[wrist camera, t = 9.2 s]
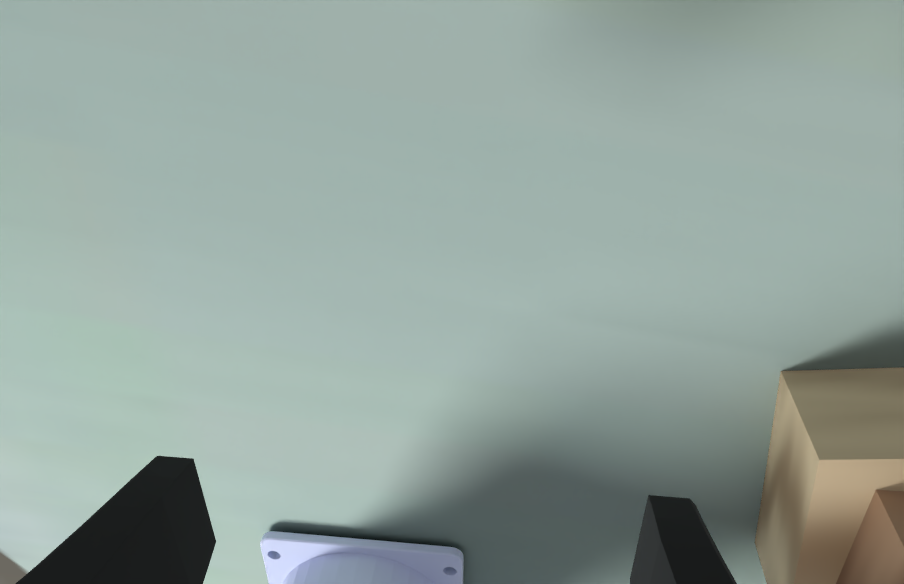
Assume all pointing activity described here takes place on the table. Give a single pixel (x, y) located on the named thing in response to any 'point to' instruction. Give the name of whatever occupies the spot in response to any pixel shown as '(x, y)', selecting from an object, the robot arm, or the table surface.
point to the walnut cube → (878, 543)
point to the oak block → (827, 468)
